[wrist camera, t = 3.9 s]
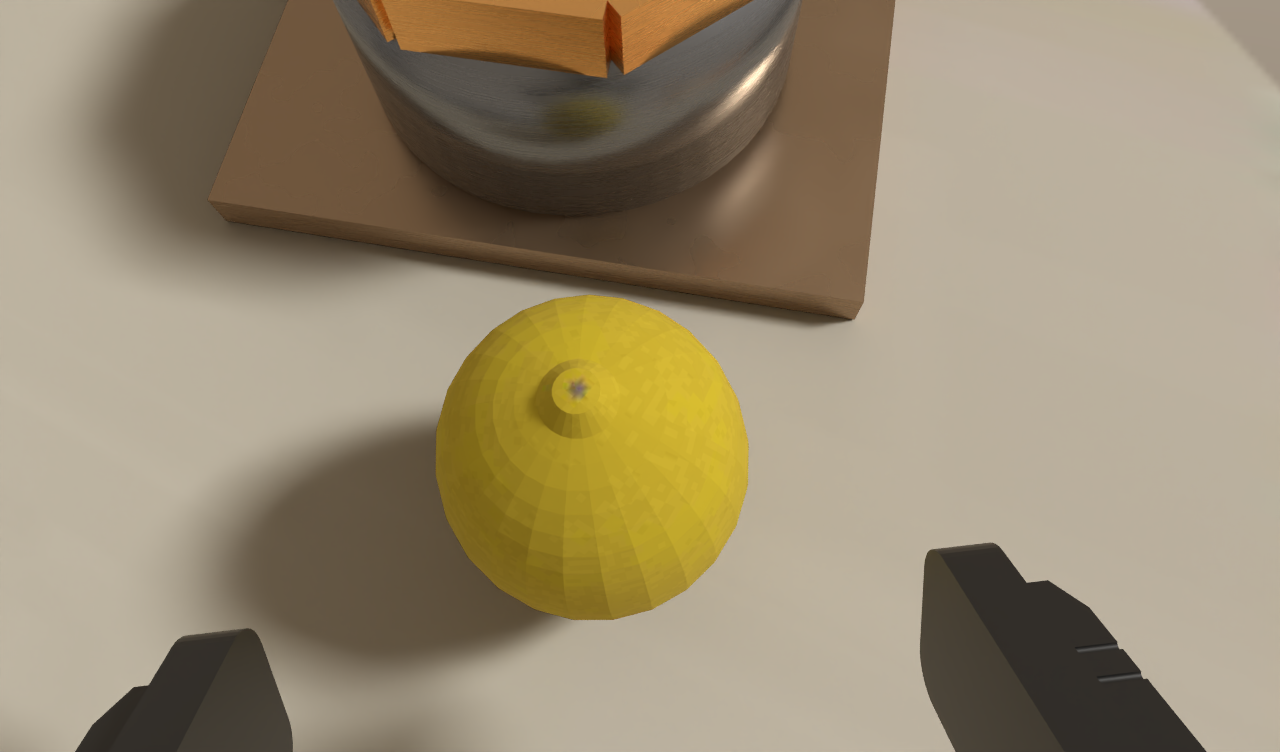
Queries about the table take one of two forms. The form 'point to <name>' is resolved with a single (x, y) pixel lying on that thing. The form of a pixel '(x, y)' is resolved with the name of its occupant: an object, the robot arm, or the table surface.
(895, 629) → the table surface
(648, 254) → the pot on wooden stand
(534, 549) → the lemon
